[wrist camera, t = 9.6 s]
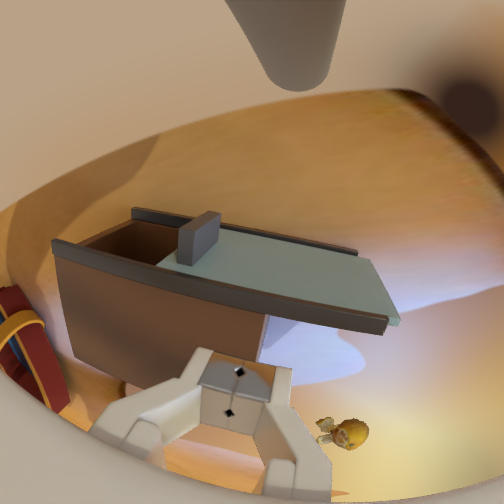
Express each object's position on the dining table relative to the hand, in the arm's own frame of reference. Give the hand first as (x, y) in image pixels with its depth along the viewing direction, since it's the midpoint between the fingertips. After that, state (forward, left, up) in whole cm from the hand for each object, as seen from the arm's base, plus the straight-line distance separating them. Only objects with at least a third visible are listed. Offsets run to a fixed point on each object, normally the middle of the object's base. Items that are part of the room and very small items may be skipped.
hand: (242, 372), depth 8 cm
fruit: (+29, +14, -21) cm, 39 cm away
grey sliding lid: (+1, +1, -20) cm, 20 cm away
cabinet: (+7, -5, -21) cm, 23 cm away
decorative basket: (+37, -49, -21) cm, 65 cm away
